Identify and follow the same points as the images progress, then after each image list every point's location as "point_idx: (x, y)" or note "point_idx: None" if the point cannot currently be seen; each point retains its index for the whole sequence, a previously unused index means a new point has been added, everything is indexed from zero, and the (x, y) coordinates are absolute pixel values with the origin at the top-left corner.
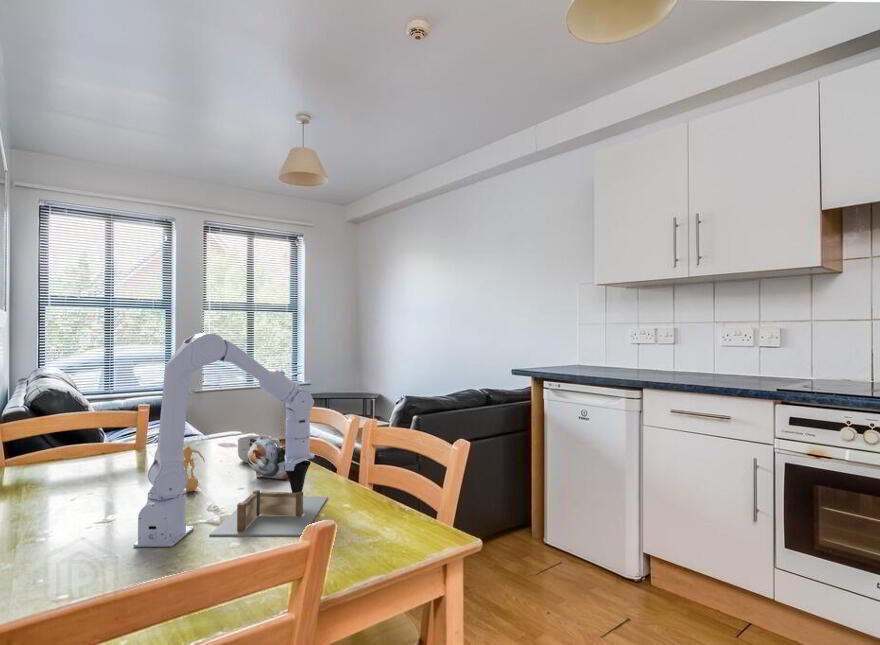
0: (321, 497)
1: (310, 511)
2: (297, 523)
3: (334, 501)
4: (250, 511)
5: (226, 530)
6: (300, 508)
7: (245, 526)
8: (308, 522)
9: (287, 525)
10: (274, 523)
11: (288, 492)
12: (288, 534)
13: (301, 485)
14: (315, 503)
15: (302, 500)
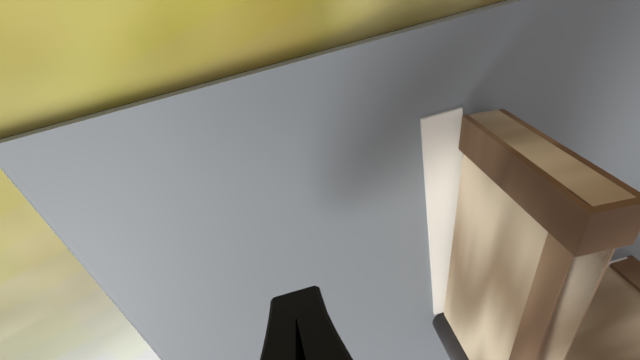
0: (42, 184)
1: (368, 104)
2: (587, 74)
3: (24, 38)
4: (588, 330)
5: None
6: (541, 134)
7: (622, 271)
8: (583, 4)
9: (605, 118)
10: None
11: (551, 314)
12: None
13: (337, 337)
14: (197, 156)
15: (541, 165)
